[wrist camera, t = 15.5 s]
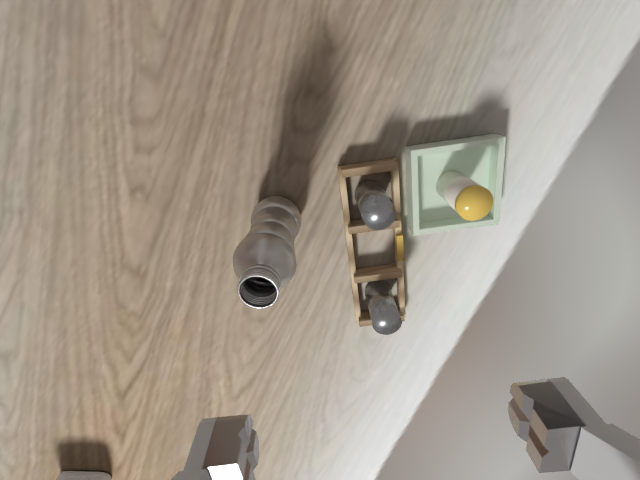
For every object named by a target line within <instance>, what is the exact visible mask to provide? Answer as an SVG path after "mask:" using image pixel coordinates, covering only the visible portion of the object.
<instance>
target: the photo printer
mask: <svg viewBox="0 0 640 480" xmlns="http://www.w3.org/2000/svg"><path fill="white" fill-rule="evenodd" d="M56 480H111V476H110V475H109V474H108V473H105V472H87V471H63V472H61V473H60V474H59V476H58V477H57V479H56Z"/></svg>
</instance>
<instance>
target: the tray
mask: <svg viewBox="0 0 640 480" xmlns="http://www.w3.org/2000/svg"><path fill="white" fill-rule="evenodd" d="M505 144H506V137H505V136H501V135H498V134H495V133H493V134H487V135H480V136H473V137H466V138H459V139H452V140H445V141H439V142H432V143H425V144H418V145H411V146H405V157H406V183H407V210H408V228H409V229H410V231H411V232H412V234H413V236H415V235H423V234H430V233H437V232H445V231H452V230H460V229H467V228H474V227H482V226H489V225H496V224H499V220H500V207H501V195H502V182H503V169H504V157H505ZM450 170H457V171H459V172H461V173H463V174H464V175H466V176H467V177H469V178H470V179H472V180H473V181H475V182H476V183H478V184H479V185H481V186H483V187H485V188H486V189H488V190H489V191H490V192H491V194H492V196H493V206H492V208H491V210H490V212H489V213H488V214H487V215H486V216H485V217H483V218H481V219H479V220H475V221H469V220H465V219H463V218H462V217H461V216H460V215H459V214H458V213H457V212H456V211H455V210H454V209H453V208H452V207H451V206H450V205H449V204H448V203H447V202H446V201H445V200H444V199H443V198H442V197H441V196H440V195H439V194H438V193H437V191H436V183H437V180H438V178H439V177H440V176H441V175H442V174H443V173H445V172H447V171H450Z"/></svg>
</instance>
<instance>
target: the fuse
mask: <svg viewBox="0 0 640 480" xmlns="http://www.w3.org/2000/svg"><path fill="white" fill-rule="evenodd" d="M436 191H437V193H438V194H439V195H440V196H441V197H442V198H443V199H444V200H445V201H446V202H447V203H448V204H449V205H450V206H451V207H452V208H453V209H454V210H455V211H456V212H457V213H458V214H459V215H460V216H461V217H462V218H463V219H465V220H469V221H475V220H479V219H481V218H483V217H485V216H486V215H487V214H488V213H489V212H490V210H491V208H492V206H493V196H492V194H491V192H490V191H489V190H488V189H486V188H485V187H483V186H481V185H479V184H478V183H476V182H475V181H473V180H472V179H470V178H469V177H467V176H466V175H464V174H463V173H461V172H459V171H457V170H450V171H447V172H445V173H443V174H442V175H441V176H440V177H439V178H438V180H437V183H436Z"/></svg>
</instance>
